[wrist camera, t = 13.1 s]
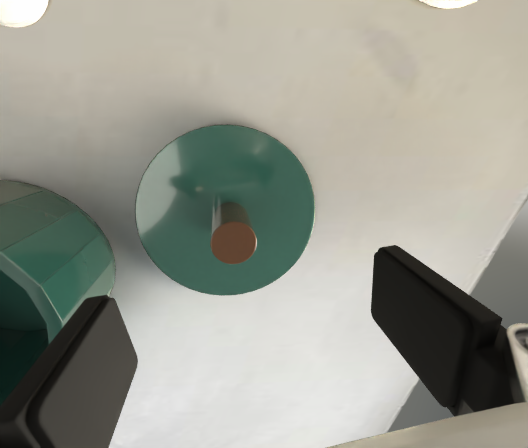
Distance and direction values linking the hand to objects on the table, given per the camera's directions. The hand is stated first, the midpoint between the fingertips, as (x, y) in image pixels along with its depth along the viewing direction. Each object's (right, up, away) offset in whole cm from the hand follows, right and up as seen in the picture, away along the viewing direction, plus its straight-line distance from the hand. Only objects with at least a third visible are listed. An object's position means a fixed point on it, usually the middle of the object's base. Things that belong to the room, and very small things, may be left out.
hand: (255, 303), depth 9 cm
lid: (-3, +4, +12) cm, 13 cm away
